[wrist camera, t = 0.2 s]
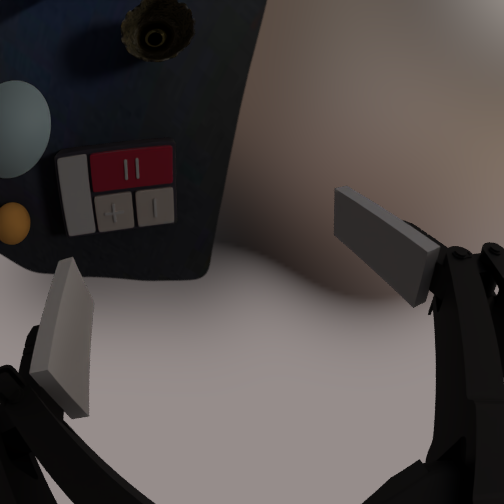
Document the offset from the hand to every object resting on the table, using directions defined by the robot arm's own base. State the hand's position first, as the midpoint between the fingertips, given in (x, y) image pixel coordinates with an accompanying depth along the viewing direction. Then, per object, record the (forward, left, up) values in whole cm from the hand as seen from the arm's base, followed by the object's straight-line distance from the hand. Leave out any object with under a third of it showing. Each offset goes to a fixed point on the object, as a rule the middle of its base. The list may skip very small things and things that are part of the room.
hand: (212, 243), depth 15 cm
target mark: (-7, -21, -28) cm, 35 cm away
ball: (+4, -23, -25) cm, 34 cm away
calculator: (+4, -7, -28) cm, 30 cm away
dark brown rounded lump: (-14, 0, -28) cm, 31 cm away
